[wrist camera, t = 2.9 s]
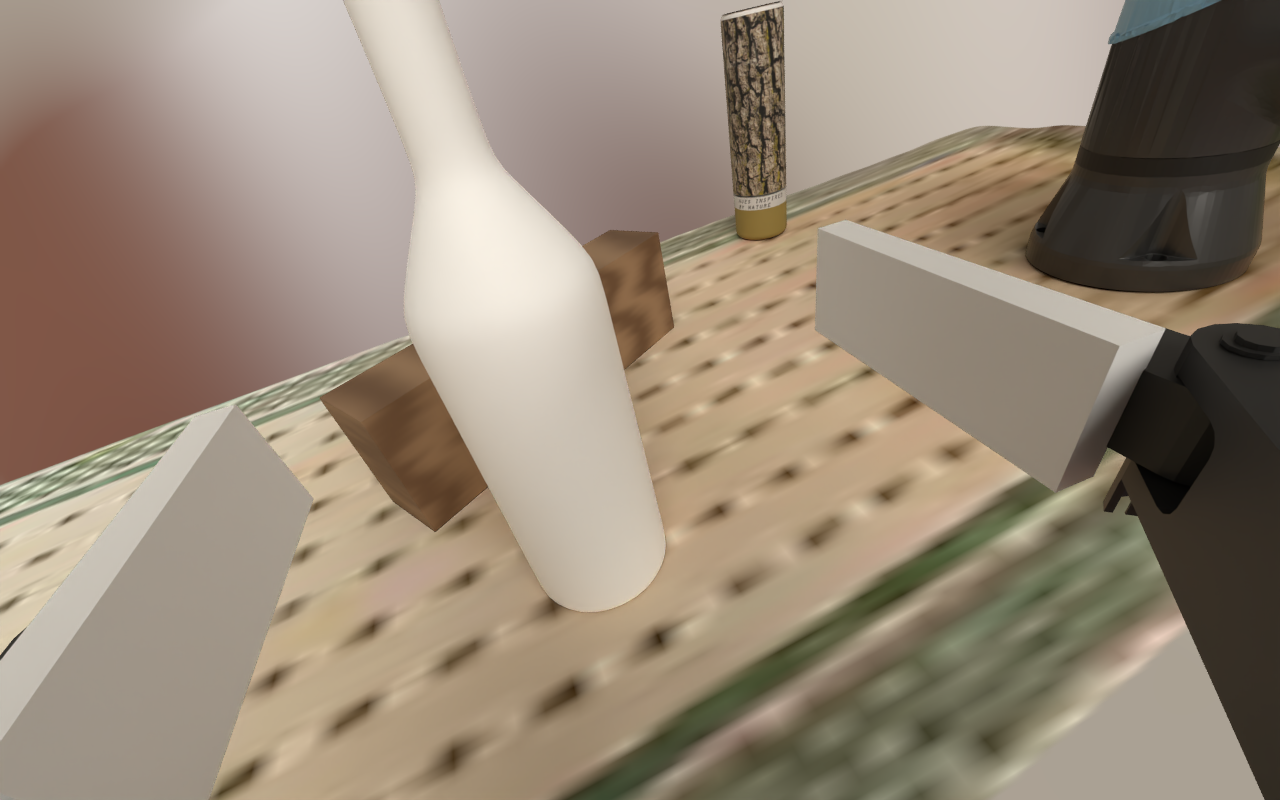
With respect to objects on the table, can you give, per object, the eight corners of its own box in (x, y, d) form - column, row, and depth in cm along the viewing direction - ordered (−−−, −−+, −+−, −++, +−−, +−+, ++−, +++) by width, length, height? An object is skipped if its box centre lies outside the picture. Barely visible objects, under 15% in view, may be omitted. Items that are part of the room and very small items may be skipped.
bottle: (550, 509, 34) (289, -81, 17) (665, 495, 33) (516, -148, 16) (525, 620, 28) (55, -156, 10) (668, 608, 27) (418, -280, 9)
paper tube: (797, 231, 67) (796, -3, 52) (753, 246, 65) (739, 10, 51) (769, 220, 72) (761, 5, 58) (727, 234, 71) (709, 18, 56)
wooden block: (629, 318, 55) (610, 230, 49) (673, 327, 52) (658, 232, 46) (392, 501, 38) (319, 397, 32) (435, 531, 34) (361, 421, 29)
